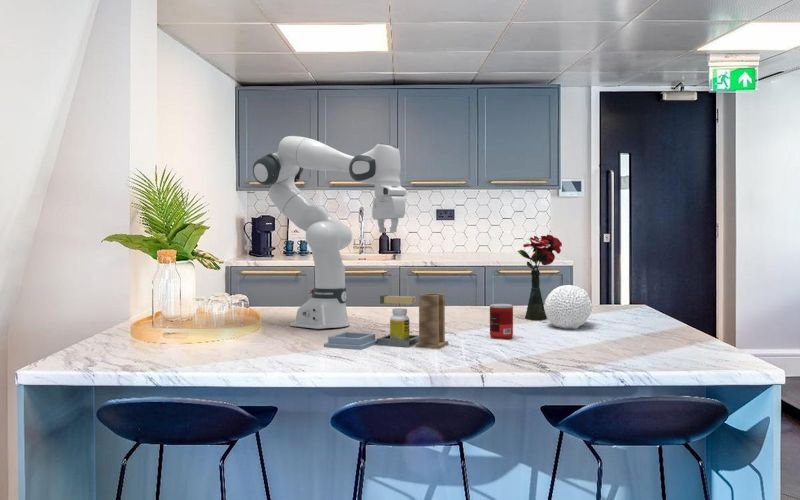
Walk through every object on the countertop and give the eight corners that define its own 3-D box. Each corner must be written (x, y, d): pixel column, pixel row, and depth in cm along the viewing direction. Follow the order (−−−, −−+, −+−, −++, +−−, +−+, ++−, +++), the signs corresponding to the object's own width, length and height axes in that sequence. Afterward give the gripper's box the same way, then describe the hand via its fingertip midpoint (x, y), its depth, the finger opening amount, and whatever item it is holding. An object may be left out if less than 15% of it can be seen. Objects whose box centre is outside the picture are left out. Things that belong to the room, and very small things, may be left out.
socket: (376, 345, 192) (376, 338, 192) (391, 339, 202) (391, 333, 202) (409, 347, 187) (409, 340, 187) (422, 341, 197) (422, 335, 197)
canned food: (515, 336, 208) (515, 304, 208) (509, 339, 201) (509, 306, 200) (493, 334, 211) (493, 303, 211) (487, 338, 204) (486, 305, 204)
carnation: (509, 320, 248) (509, 234, 248) (550, 319, 252) (550, 234, 252) (525, 325, 233) (525, 234, 232) (569, 324, 237) (569, 234, 237)
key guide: (415, 346, 188) (415, 295, 188) (424, 342, 195) (424, 293, 195) (439, 348, 185) (439, 296, 185) (448, 344, 192) (448, 293, 192)
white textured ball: (583, 334, 212) (583, 287, 212) (535, 330, 221) (535, 285, 221) (598, 327, 229) (598, 283, 228) (552, 323, 238) (552, 282, 238)
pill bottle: (407, 345, 191) (407, 310, 191) (388, 344, 192) (388, 309, 192) (411, 342, 197) (411, 308, 197) (392, 341, 198) (392, 307, 198)
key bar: (380, 303, 195) (380, 295, 195) (385, 302, 199) (385, 294, 198) (411, 305, 190) (411, 296, 190) (416, 303, 194) (416, 295, 194)
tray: (323, 346, 189) (323, 337, 189) (343, 340, 201) (343, 331, 201) (361, 349, 184) (361, 339, 184) (379, 342, 196) (379, 333, 196)
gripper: (367, 193, 214) (367, 232, 214) (391, 189, 195) (390, 232, 196) (384, 194, 217) (384, 232, 217) (408, 189, 198) (408, 232, 198)
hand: (387, 232), depth 206 cm, fingers open, 8 cm apart
